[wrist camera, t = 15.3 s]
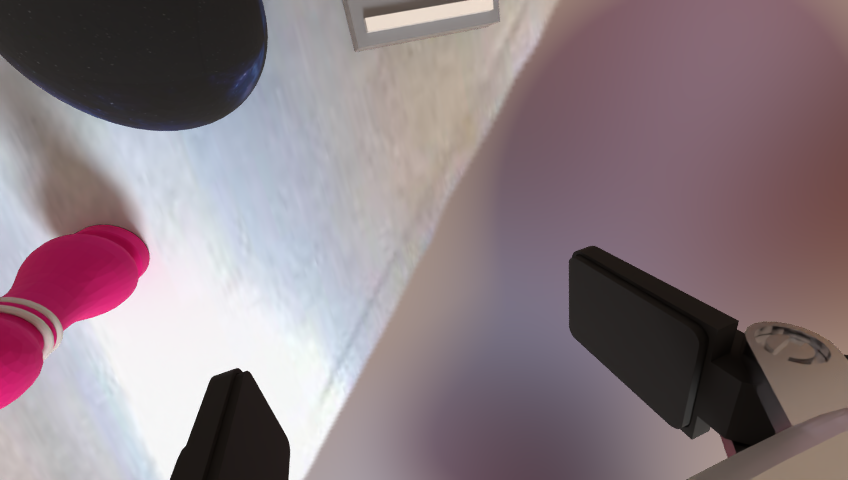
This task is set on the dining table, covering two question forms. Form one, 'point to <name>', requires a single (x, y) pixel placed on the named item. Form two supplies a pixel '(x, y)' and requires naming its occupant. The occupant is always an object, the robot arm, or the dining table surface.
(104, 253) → the pepper mill
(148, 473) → the dining table surface
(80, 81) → the decorative sphere
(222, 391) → the robot arm
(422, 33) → the switch panel
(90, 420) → the dining table surface
